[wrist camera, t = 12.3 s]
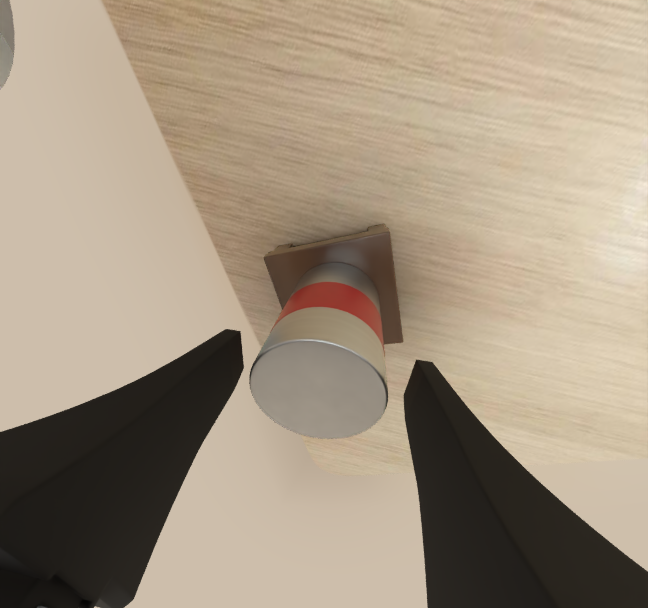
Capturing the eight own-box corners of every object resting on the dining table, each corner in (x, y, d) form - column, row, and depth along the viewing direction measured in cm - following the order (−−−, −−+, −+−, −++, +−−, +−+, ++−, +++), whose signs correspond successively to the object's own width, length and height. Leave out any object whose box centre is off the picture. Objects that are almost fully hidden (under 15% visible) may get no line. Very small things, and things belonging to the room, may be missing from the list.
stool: (305, 332, 20) (297, 353, 18) (276, 244, 17) (262, 257, 14) (398, 321, 18) (403, 342, 16) (386, 221, 15) (389, 231, 13)
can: (293, 329, 17) (251, 427, 11) (295, 255, 14) (243, 327, 8) (370, 342, 16) (373, 450, 10) (387, 268, 14) (405, 353, 8)
